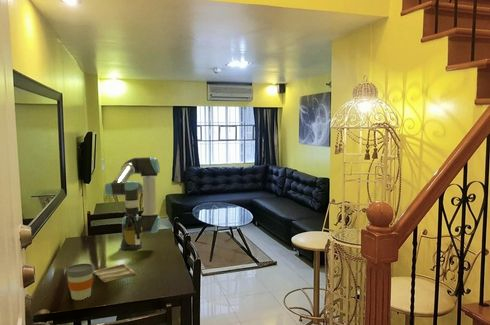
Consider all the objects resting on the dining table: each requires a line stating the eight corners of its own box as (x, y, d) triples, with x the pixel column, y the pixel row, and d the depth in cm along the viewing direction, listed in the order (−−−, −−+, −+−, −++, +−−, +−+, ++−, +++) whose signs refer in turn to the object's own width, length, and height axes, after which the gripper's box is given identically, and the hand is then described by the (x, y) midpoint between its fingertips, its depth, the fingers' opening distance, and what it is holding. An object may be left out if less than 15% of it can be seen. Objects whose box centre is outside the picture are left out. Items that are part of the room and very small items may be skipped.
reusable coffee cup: (76, 290, 202) (74, 263, 201) (98, 291, 201) (97, 263, 200) (62, 301, 190) (60, 271, 189) (86, 302, 189) (85, 272, 187)
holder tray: (93, 273, 227) (93, 270, 227) (123, 266, 238) (123, 263, 238) (104, 282, 213) (104, 279, 213) (135, 274, 224) (135, 271, 224)
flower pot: (143, 241, 236) (142, 227, 235) (138, 245, 227) (137, 230, 227) (129, 241, 237) (128, 227, 236) (123, 245, 228) (123, 230, 227)
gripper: (118, 204, 237) (119, 239, 238) (134, 210, 219) (136, 247, 220) (129, 203, 242) (131, 237, 243) (146, 208, 223) (148, 245, 225)
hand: (133, 242), depth 232 cm, fingers closed on flower pot, 11 cm apart
